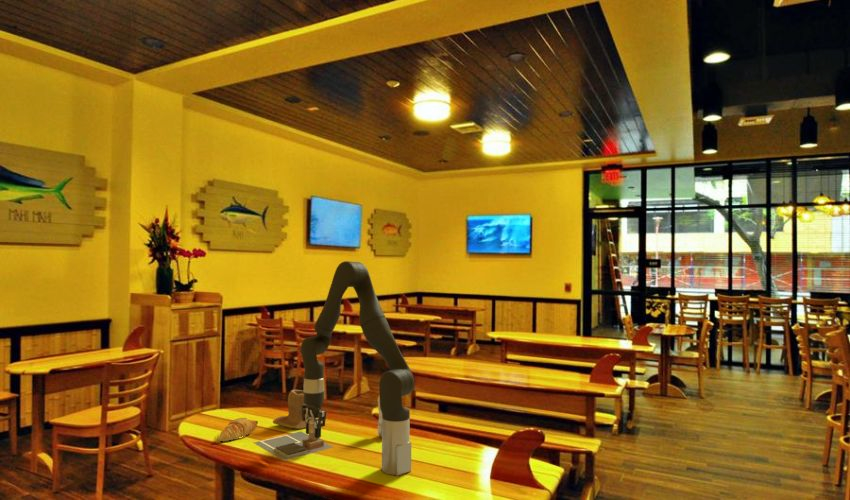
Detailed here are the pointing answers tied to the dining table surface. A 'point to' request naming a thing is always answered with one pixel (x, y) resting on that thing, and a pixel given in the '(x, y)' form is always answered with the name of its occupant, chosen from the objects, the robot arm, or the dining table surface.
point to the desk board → (289, 446)
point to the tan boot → (293, 411)
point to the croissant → (237, 429)
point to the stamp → (312, 438)
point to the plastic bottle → (379, 419)
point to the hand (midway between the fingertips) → (313, 435)
